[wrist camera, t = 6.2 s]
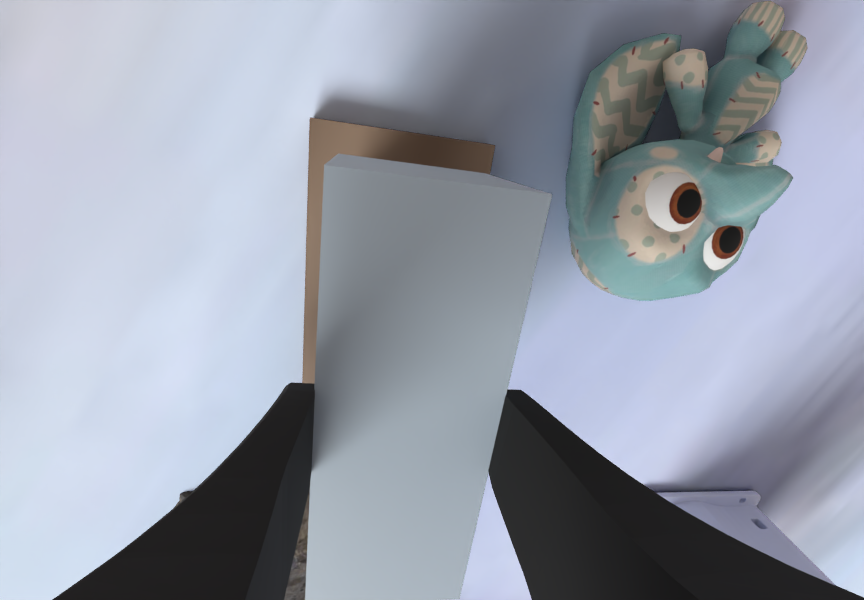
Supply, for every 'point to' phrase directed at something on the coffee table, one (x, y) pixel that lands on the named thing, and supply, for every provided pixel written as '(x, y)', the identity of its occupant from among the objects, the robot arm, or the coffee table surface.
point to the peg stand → (368, 143)
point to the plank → (411, 369)
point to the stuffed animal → (677, 158)
